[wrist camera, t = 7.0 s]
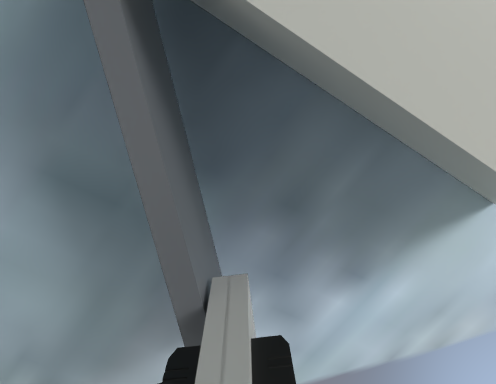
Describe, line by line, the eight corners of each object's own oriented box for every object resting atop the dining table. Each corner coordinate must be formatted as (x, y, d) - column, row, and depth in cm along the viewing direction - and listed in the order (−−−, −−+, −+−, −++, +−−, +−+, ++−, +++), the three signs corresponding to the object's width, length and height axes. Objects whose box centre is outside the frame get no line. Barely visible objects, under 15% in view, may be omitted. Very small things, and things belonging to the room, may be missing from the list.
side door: (106, -21, 17) (39, -75, 11) (149, -31, 17) (102, -91, 11) (205, 334, 21) (191, 427, 16) (239, 327, 21) (238, 417, 15)
